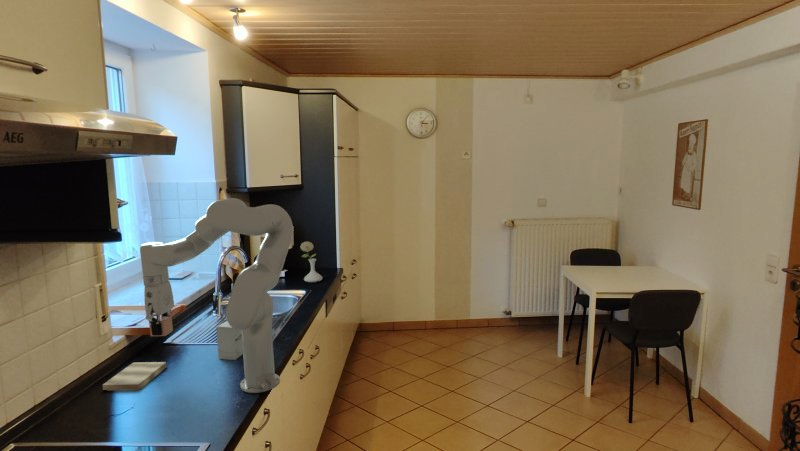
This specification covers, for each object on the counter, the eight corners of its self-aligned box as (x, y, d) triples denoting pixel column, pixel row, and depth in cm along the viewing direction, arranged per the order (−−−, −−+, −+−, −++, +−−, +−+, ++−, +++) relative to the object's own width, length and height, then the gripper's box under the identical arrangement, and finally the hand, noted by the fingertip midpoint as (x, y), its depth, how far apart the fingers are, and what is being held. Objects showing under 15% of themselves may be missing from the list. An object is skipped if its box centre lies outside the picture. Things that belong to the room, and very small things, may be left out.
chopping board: (133, 367, 169) (133, 362, 169) (166, 367, 169) (165, 362, 169) (103, 390, 152) (102, 384, 152) (139, 390, 152) (138, 384, 152)
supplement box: (235, 360, 174) (233, 327, 172) (217, 359, 175) (215, 326, 173) (246, 352, 181) (243, 321, 179) (228, 351, 182) (226, 320, 181)
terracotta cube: (165, 336, 155) (163, 321, 154) (150, 336, 155) (149, 321, 154) (173, 330, 160) (171, 316, 159) (158, 330, 160) (157, 316, 159)
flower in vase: (325, 279, 292) (323, 239, 289) (319, 283, 281) (317, 242, 278) (305, 278, 294) (302, 239, 291) (298, 283, 283) (296, 243, 280)
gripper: (153, 285, 147) (159, 341, 149) (179, 273, 163) (184, 323, 166) (129, 286, 147) (136, 341, 149) (158, 273, 164) (164, 323, 166)
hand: (161, 331), depth 157 cm, fingers closed on terracotta cube, 5 cm apart
